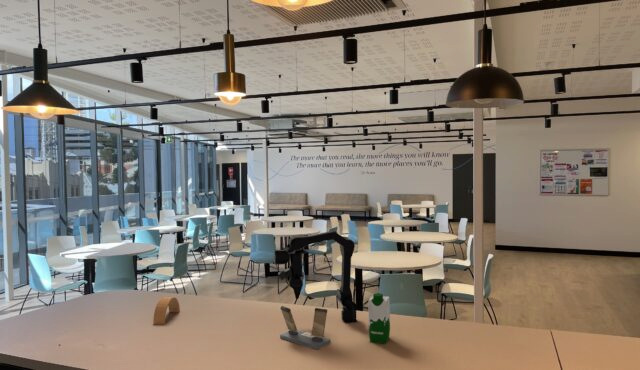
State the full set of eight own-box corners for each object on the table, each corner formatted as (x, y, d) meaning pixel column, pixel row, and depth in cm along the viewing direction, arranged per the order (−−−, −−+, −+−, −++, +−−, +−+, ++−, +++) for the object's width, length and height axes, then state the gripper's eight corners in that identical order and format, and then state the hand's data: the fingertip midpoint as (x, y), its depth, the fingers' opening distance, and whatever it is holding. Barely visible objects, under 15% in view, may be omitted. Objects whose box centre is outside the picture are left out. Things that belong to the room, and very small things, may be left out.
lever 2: (313, 335, 189) (316, 308, 192) (323, 337, 186) (327, 309, 189) (311, 335, 187) (314, 307, 190) (322, 337, 185) (325, 309, 188)
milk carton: (367, 342, 187) (366, 295, 187) (371, 335, 196) (371, 289, 195) (388, 344, 184) (387, 296, 184) (391, 337, 193) (391, 291, 192)
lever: (290, 327, 198) (283, 305, 195) (297, 330, 193) (289, 307, 191) (287, 329, 196) (279, 307, 194) (294, 332, 192) (286, 310, 190)
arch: (180, 311, 236) (179, 292, 235) (164, 324, 216) (164, 303, 216) (169, 311, 236) (169, 292, 236) (152, 324, 216) (152, 303, 216)
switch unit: (294, 332, 201) (294, 326, 201) (330, 343, 188) (330, 337, 187) (280, 338, 194) (280, 332, 194) (317, 349, 181) (316, 343, 181)
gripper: (280, 259, 218) (281, 291, 219) (277, 268, 200) (278, 302, 200) (303, 259, 218) (304, 290, 219) (302, 267, 200) (303, 301, 200)
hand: (297, 296), depth 210 cm, fingers open, 9 cm apart
